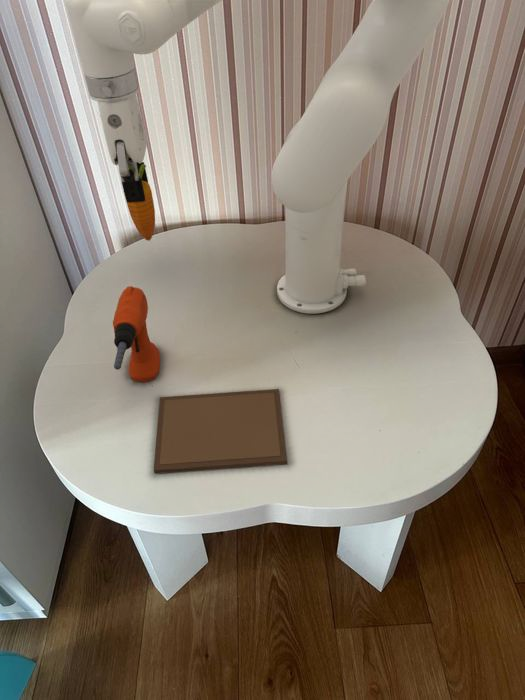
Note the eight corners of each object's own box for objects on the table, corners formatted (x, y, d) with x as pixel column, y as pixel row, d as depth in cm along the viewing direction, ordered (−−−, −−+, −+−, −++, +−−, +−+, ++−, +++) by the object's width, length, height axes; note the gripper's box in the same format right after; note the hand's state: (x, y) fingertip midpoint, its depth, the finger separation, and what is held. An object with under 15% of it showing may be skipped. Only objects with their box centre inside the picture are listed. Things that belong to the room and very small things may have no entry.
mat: (278, 392, 86) (278, 388, 85) (286, 464, 77) (286, 460, 76) (160, 400, 86) (159, 396, 85) (154, 473, 76) (153, 469, 76)
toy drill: (116, 435, 79) (92, 351, 70) (133, 354, 94) (115, 275, 85) (151, 433, 79) (132, 348, 70) (162, 352, 94) (148, 273, 85)
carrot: (164, 233, 106) (149, 156, 95) (158, 248, 102) (141, 170, 92) (139, 232, 106) (120, 156, 96) (132, 247, 103) (112, 170, 92)
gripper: (131, 102, 79) (156, 216, 91) (142, 62, 91) (162, 168, 104) (77, 106, 79) (109, 220, 91) (95, 66, 91) (121, 171, 104)
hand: (137, 191), depth 97 cm, fingers closed on carrot, 4 cm apart
